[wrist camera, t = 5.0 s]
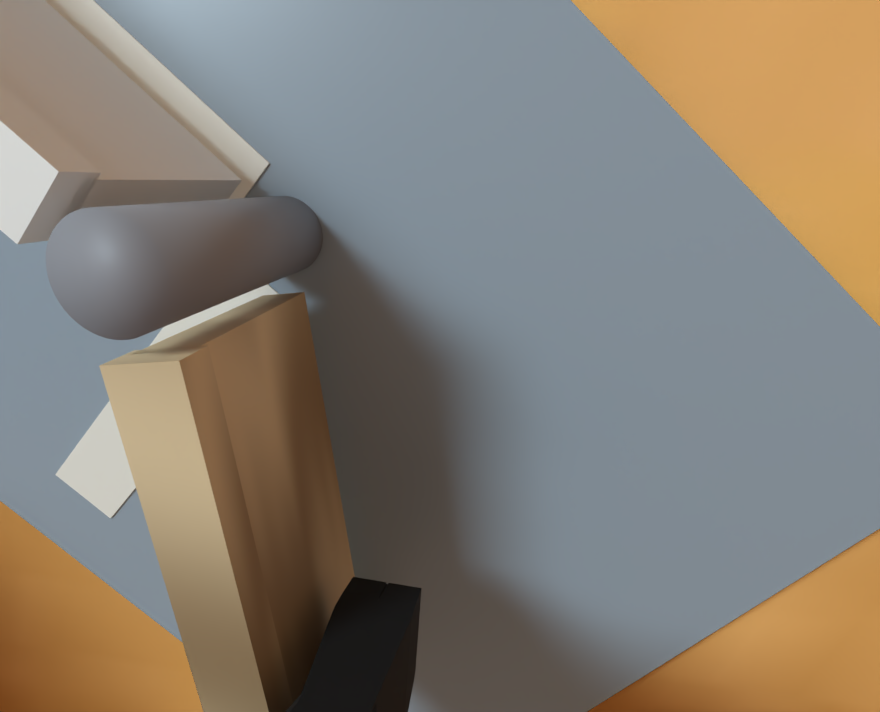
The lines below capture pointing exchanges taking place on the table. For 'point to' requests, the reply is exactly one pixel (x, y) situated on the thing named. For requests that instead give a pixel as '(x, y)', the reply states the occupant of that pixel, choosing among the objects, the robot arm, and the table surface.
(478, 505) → the mat
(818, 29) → the table surface
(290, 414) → the fence panel
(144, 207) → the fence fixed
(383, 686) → the robot arm
